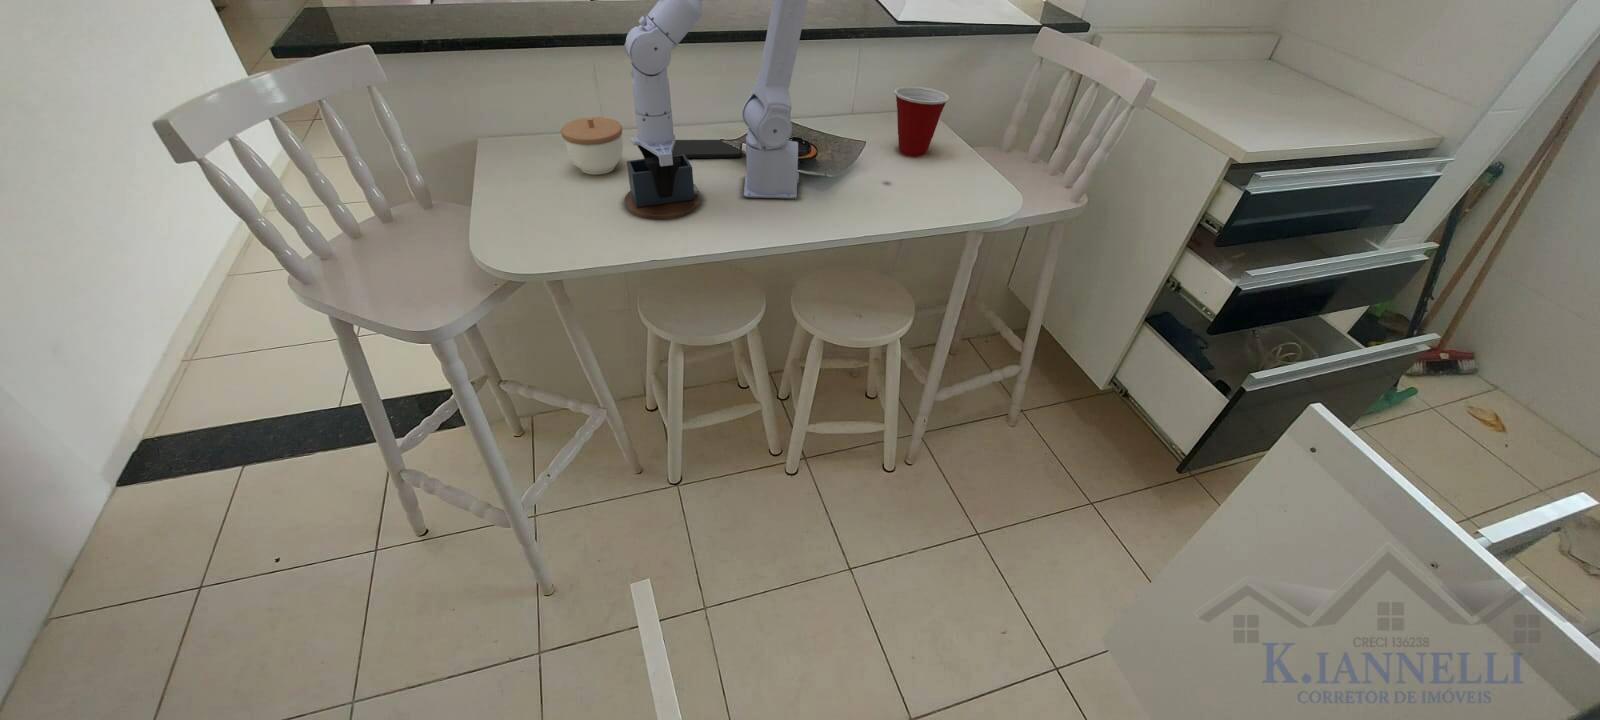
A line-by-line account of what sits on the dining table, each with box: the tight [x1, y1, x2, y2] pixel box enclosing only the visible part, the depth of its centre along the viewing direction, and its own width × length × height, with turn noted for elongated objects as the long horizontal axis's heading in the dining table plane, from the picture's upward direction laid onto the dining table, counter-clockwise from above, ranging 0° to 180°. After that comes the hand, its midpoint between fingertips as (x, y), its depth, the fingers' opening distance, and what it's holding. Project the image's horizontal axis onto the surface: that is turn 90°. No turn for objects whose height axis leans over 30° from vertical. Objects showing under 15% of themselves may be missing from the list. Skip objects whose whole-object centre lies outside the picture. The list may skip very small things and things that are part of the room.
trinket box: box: [560, 116, 624, 176], centre depth 123 cm, size 11×11×9 cm
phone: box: [672, 139, 742, 159], centre depth 133 cm, size 7×1×15 cm
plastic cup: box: [894, 86, 950, 158], centre depth 133 cm, size 11×11×12 cm
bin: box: [626, 154, 700, 207], centre depth 114 cm, size 11×5×6 cm, turn 111°
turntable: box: [624, 190, 701, 220], centre depth 116 cm, size 13×13×1 cm
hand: (661, 188), depth 115 cm, fingers closed on bin, 5 cm apart
